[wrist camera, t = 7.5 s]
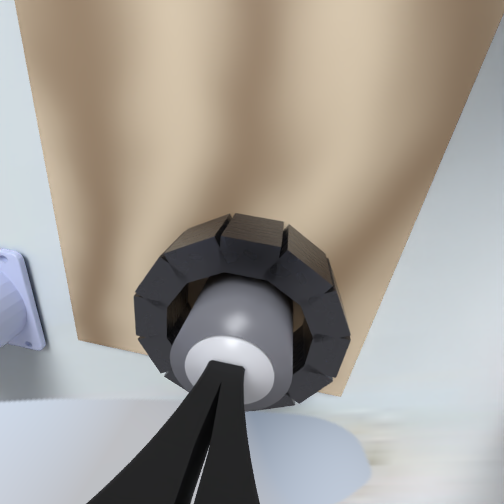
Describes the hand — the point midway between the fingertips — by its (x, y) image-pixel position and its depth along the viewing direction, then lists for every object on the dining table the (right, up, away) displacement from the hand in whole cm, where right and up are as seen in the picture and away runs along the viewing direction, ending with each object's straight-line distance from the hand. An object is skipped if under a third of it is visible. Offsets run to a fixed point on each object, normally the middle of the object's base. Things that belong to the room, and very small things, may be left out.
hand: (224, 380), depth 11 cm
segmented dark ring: (+1, +2, +5) cm, 5 cm away
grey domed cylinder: (+1, +2, +5) cm, 5 cm away
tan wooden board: (0, +8, +3) cm, 9 cm away
